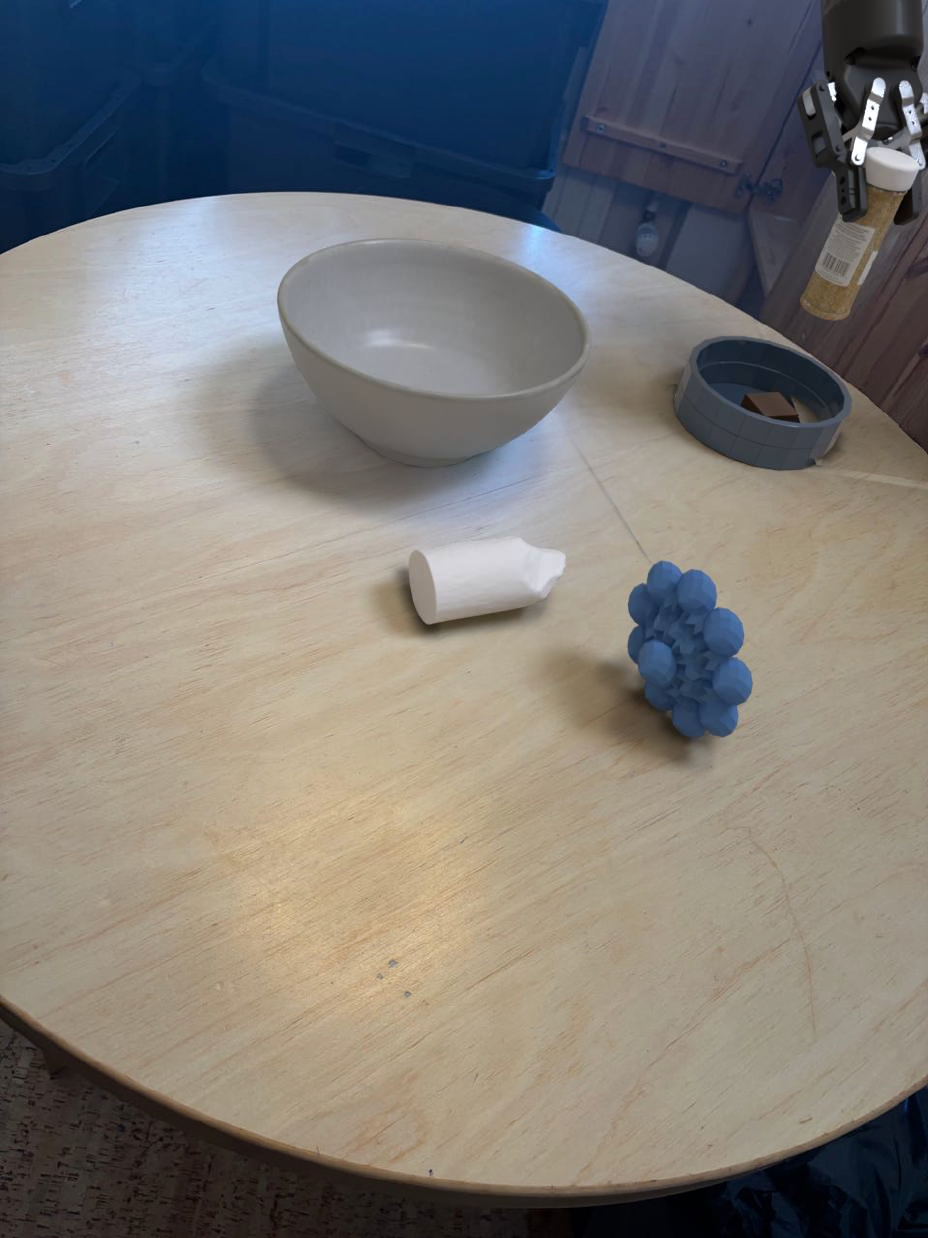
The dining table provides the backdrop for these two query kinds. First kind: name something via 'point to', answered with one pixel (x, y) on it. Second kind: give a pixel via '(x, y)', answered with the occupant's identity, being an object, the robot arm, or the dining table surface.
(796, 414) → the block
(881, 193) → the sprinkles bottle
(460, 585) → the white bottle
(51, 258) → the dining table surface
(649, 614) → the blue knobbly ring
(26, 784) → the dining table surface
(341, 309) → the decorative bowl
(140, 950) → the dining table surface
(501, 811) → the dining table surface
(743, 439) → the bowl
